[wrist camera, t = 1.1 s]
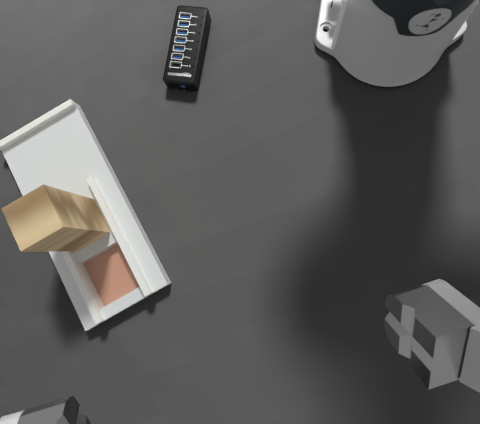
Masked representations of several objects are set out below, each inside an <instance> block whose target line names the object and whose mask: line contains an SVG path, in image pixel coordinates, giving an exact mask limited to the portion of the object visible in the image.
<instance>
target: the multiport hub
mask: <svg viewBox="0 0 480 424" xmlns="http://www.w3.org/2000/svg"><path fill="white" fill-rule="evenodd" d="M210 23H211V18H210V14H209V11H208V9H207V8H202V7H191V6H178V7H177V10H176V15H175V20H174V25H173V30H172V36H171V41H170V46H169V51H168V56H167V61H166V66H165V71H164V76H163V81H164V82H165V84H166V85H167V87H168V88H170V89H178V90H186V91H197V90H198V87H199V82H200V76H201V71H202V66H203V60H204V55H205V50H206V44H207V39H208V34H209V28H210Z"/></svg>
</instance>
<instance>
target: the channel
mask: <svg viewBox="0 0 480 424" xmlns="http://www.w3.org/2000/svg"><path fill="white" fill-rule="evenodd" d="M0 150H2V152H3V155H4V157H5V159H6V161H7V163H8V165H9V168H10V170H11V172H12V174H13V176H14V178H15V180H16V183H17V185H18V187H19V189H20V191H21V193H22V196H24V195H26V194H28V193H29V192H31V191H33V190H34V189H36V188H38V187H40V186H41V185H47V186H50V187H54V188H57V189H61V190H64V191H68V192H71V193H75V194H78V195H81V196H85V197H88V198H92V199H94V200H95V202H96V204H97V206H98V208H99V210H100V212H101V214H102V216H103V218H104V220H105V222H106V224H107V226H108V228H109V230H110V233H108V234H107V235H105V236H103V237H101V238H100V239H98V240H96V241H94V242H93V243H91V244H89V245H87V246H86V247H84V248H82V249H81V250H79V251H48V252H49V254H50V256H51V258H52V260H53V262H54V265H55V267H56V269H57V271H58V273H59V275H60V277H61V280H62V282H63V284H64V286H65V288H66V290H67V293H68V295H69V297H70V299H71V301H72V303H73V305H74V308H75V310H76V312H77V314H78V316H79V318H80V321H81V323H82V325H83V327H84V329H85V331H87V330H90V329H92V328H94V327H95V326H97V325H99V324H101V323H102V322H104V321H106V320H108V319H109V318H111V317H113V316H115V315H116V314H118V313H120V312H122V311H123V310H125V309H127V308H129V307H131V306H132V305H134V304H136V303H138V302H139V301H141V300H143V299H145V298H146V297H148V296H150V295H152V294H153V293H155V292H157V291H159V290H160V289H162V288H164V287H166V286H167V285H169V284H171V282H170V280H169V278H168V276H167V274H166V272H165V270H164V268H163V266H162V264H161V262H160V260H159V258H158V256H157V254H156V252H155V251H154V249H153V247H152V245H151V243H150V241H149V239H148V237H147V235H146V233H145V231H144V229H143V227H142V225H141V223H140V221H139V219H138V218H137V216H136V214H135V212H134V210H133V208H132V206H131V204H130V202H129V200H128V198H127V196H126V194H125V192H124V190H123V188H122V187H121V185H120V183H119V181H118V179H117V177H116V175H115V173H114V171H113V169H112V167H111V165H110V163H109V161H108V159H107V157H106V155H105V154H104V152H103V150H102V148H101V146H100V144H99V142H98V140H97V138H96V136H95V134H94V132H93V130H92V128H91V126H90V124H89V122H88V121H87V119H86V117H85V115H84V113H83V111H82V109H81V107H80V106H79V105H78V104H77V103H75V102H74V101H73V100H71V99H69V100H68V101H66V102H64V103H63V104H61V105H59V106H58V107H56V108H54V109H53V110H51V111H49V112H48V113H46V114H44V115H42V116H41V117H39V118H37V119H36V120H34V121H32V122H31V123H29V124H27V125H26V126H24V127H22V128H21V129H19V130H17V131H16V132H14V133H12V134H10V135H9V136H7V137H5V138H4V139H2V140H0Z"/></svg>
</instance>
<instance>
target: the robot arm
mask: <svg viewBox="0 0 480 424" xmlns="http://www.w3.org/2000/svg"><path fill="white" fill-rule="evenodd" d="M478 1H479V0H321V1H320V7H319V14H318V20H317V26H316V33H315V40H314V41H315V45H316V46H317V47H318V48H319V49H321V50H322V51H324V52H326V53H328V54H330V55H332V56H334V57H335V58H336V59H337V60H338V62H339V63H340V64H341V65H342V66H343V68H344V69H345V70H346V71H347V72H349V73H350V74H351V75H352V76H354V77H355V78H357V79H359V80H361V81H363V82H365V83H368V84H371V85H375V86H382V87H393V86H401V85H405V84H408V83H411V82H413V81H415V80H417V79H419V78H421V77H422V76H424V75H425V74H426V73H428V72H429V71H430V70H431V69H432V68H433V67H434V66H435V64H436V63H437V62H438V60H439V58H440V57H441V55H442V53H443V52H444V50H445V49H446V48H447V47H448V46H450V45H451V44H453V43H454V42H455V41H457V40H458V39H459V38H460V37H461V36H462V35H463V33H464V32H465V30H466V28H467V23H466V19H467V18H468V16H469V15H470V13H471V12H472V10H473V9H474V7H475V6H476V4H477V3H478ZM324 29H326V30H328V32H324V31H323V30H324ZM385 307H386V308H387V309H388V310H389V311H390V312H389V313H388V315H387V316H386V317H385V331H386V334H387V337H388V339H389V341H390V343H391V344H392V346H393V347H394V349H395V350H396V351H397V352H398V354H401V355H403V356H405V357H407V358H409V359H410V368H411V369H412V371H413V372H414V373H415V374H416V375H417V377H418V378H419V379H420V380H421V381H422V383H423V384H424V385H425V386H426V387H427V389H428V390H429V389H432V388H435V387H438V386H441V385H444V384H447V383H450V382H453V381H456V380H459V379H460V380H459V382H461V383H463V384H465V385H467V386H468V387H470V388H472V389H474V390H475V391H477V392H479V393H480V308H479V307H478V306H477V305H476V304H474V303H473V302H472V301H470V300H469V299H468V298H467V297H465V296H464V295H463V294H461V293H460V292H459V291H458V290H456V289H455V288H454V287H452V286H451V285H450V284H448V283H447V282H446V281H444V280H441V279H437V280H434V281H431V282H428V283H425V284H422V285H418V286H415V287H412V288H409V289H405V290H402V291H399V292H396V293H393V294H390V295H388V296H387V298H386V301H385ZM79 406H80V404H79V403H78V402H77V400H76V399H75V397H74V396H72V397H67V398H64V399H60V400H57V401H53V402H50V403H46V404H43V405H40V406H36V407H33V408H29V409H26V410H23V411H20V412H16V413H13V414H10V415H6V416H3V417H1V419H0V424H91V422H90V421H89V419H88V417H87V416H85V415H82V414H79V413H78V412H79Z"/></svg>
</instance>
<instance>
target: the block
mask: <svg viewBox="0 0 480 424" xmlns="http://www.w3.org/2000/svg"><path fill="white" fill-rule="evenodd" d="M2 211H3V213H4V215H5V217H6V220H7V222H8V224H9V226H10V229H11V231H12V233H13V235H14V237H15V240H16V242H17V244H18V246H19V249H20V251H21V252H41V251H79V250H81V249H82V248H84V247H86V246H87V245H89V244H91V243H93V242H94V241H96V240H98V239H100V238H101V237H103V236H105V235H107V234H108V233H110V230H109V228H108V226H107V224H106V222H105V220H104V218H103V216H102V214H101V212H100V210H99V208H98V206H97V204H96V202H95V200H94V199H92V198H88V197H85V196H81V195H78V194H75V193H71V192H68V191H64V190H61V189H57V188H54V187H50V186H47V185H41V186H40V187H38V188H36V189H34V190H33V191H31V192H29V193H28V194H26V195H24V196H22V197H21V198H19V199H17V200H16V201H14V202H12V203H11V204H9V205H7V206H5V207H4V208H2Z"/></svg>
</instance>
